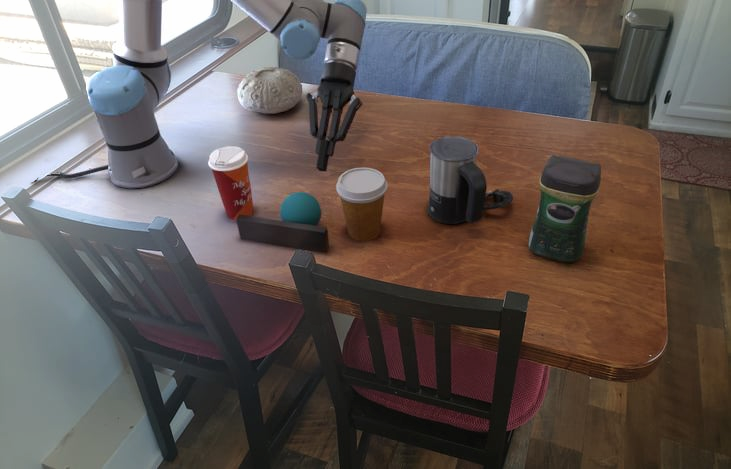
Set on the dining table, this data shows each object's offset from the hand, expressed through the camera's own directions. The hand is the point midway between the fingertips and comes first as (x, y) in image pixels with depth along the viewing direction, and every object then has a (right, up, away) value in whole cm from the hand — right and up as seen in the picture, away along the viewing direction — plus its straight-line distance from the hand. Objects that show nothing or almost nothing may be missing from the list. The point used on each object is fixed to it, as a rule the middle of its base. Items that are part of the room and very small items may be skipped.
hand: (321, 169), depth 119 cm
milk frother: (+31, -9, -8) cm, 33 cm away
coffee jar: (+45, -17, -19) cm, 52 cm away
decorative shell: (-17, +21, +33) cm, 43 cm away
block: (-6, -16, -15) cm, 22 cm away
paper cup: (-16, -10, -6) cm, 20 cm away
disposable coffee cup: (+9, -14, -12) cm, 21 cm away
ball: (-3, -10, -14) cm, 17 cm away
